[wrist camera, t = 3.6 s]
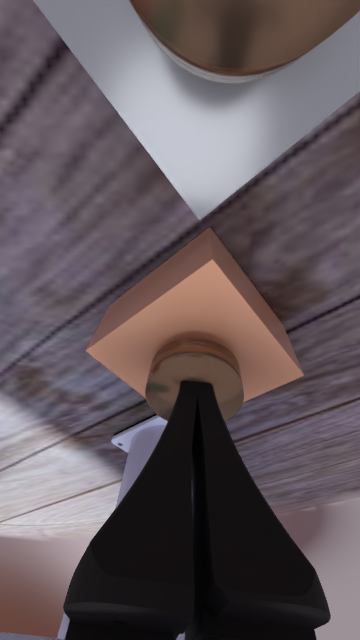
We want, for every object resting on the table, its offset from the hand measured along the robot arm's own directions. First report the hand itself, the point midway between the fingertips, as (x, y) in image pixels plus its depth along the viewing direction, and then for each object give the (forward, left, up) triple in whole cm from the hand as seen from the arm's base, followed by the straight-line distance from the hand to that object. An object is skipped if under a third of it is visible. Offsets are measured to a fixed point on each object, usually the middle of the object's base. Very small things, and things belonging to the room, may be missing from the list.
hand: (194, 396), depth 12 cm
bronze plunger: (0, 0, -6) cm, 6 cm away
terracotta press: (0, 0, -7) cm, 7 cm away
